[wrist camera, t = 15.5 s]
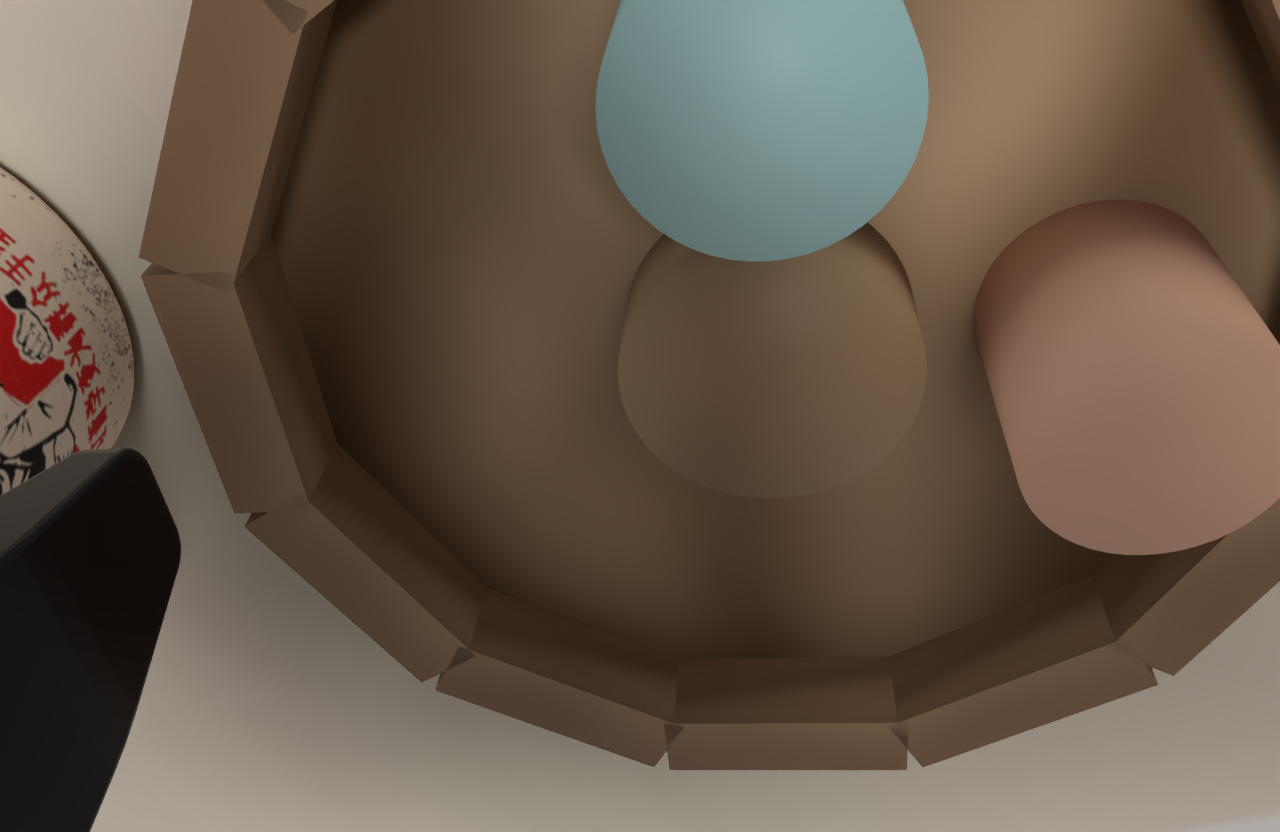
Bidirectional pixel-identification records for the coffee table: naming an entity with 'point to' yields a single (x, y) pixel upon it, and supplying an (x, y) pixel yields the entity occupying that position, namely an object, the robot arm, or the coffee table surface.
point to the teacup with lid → (55, 342)
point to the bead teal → (761, 118)
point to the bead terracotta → (1130, 380)
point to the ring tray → (685, 373)
